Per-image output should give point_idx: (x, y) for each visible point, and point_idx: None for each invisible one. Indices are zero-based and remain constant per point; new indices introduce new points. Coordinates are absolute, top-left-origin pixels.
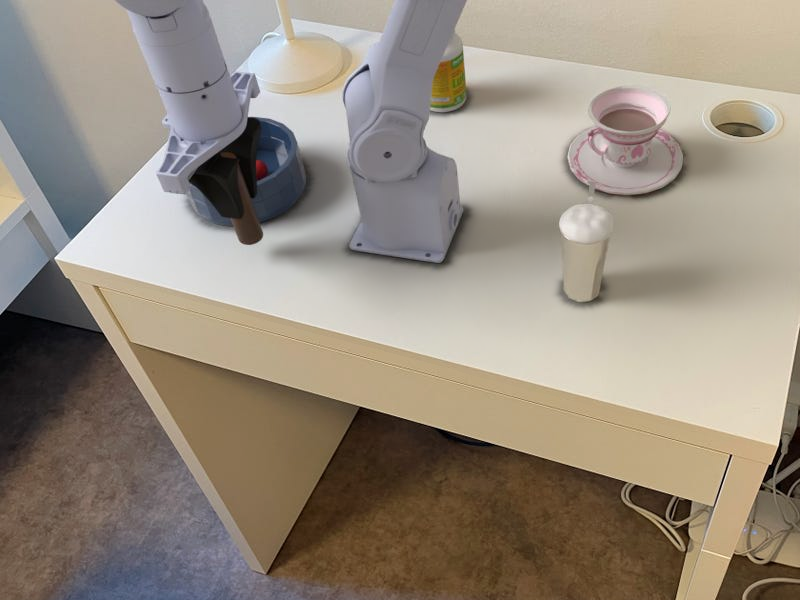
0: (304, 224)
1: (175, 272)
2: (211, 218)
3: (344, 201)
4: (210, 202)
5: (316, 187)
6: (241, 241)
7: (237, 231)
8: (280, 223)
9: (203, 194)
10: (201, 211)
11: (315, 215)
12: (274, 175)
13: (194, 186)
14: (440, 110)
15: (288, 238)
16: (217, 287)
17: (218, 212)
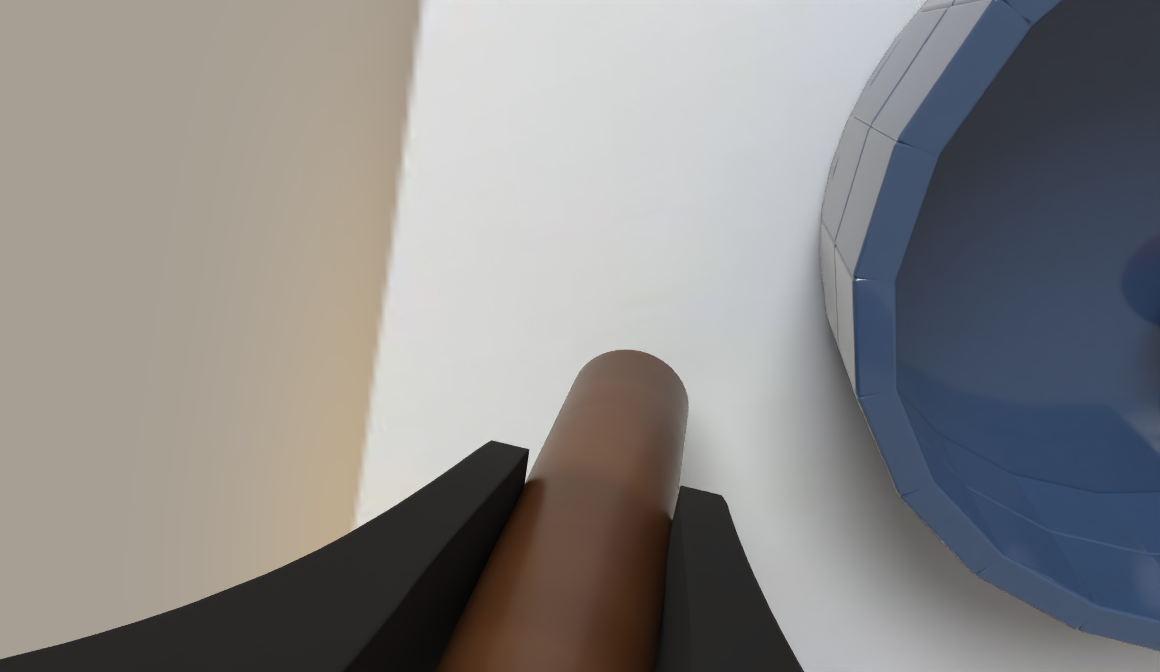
0: (814, 515)
1: (496, 16)
2: (857, 107)
3: (950, 643)
4: (423, 487)
5: None
6: (574, 381)
7: (560, 410)
8: (828, 424)
9: (359, 527)
10: (903, 41)
11: (869, 549)
12: (987, 572)
13: (947, 76)
14: None
15: (728, 466)
16: (435, 245)
17: (473, 452)
